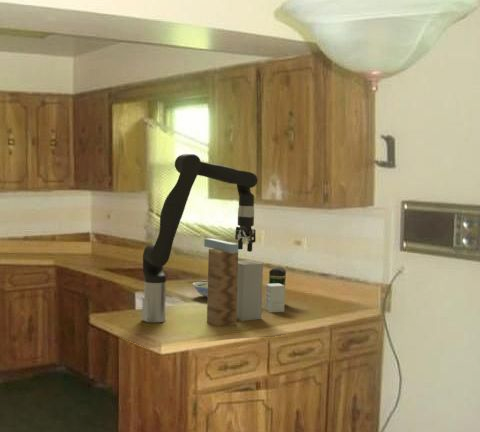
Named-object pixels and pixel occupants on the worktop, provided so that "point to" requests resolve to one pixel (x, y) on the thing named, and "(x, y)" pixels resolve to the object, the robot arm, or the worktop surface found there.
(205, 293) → the ramen bowl
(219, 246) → the blue bar
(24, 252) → the worktop surface
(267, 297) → the supplement box
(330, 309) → the worktop surface
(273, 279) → the coffee jar
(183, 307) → the worktop surface
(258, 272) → the grey step
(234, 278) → the walnut stand
